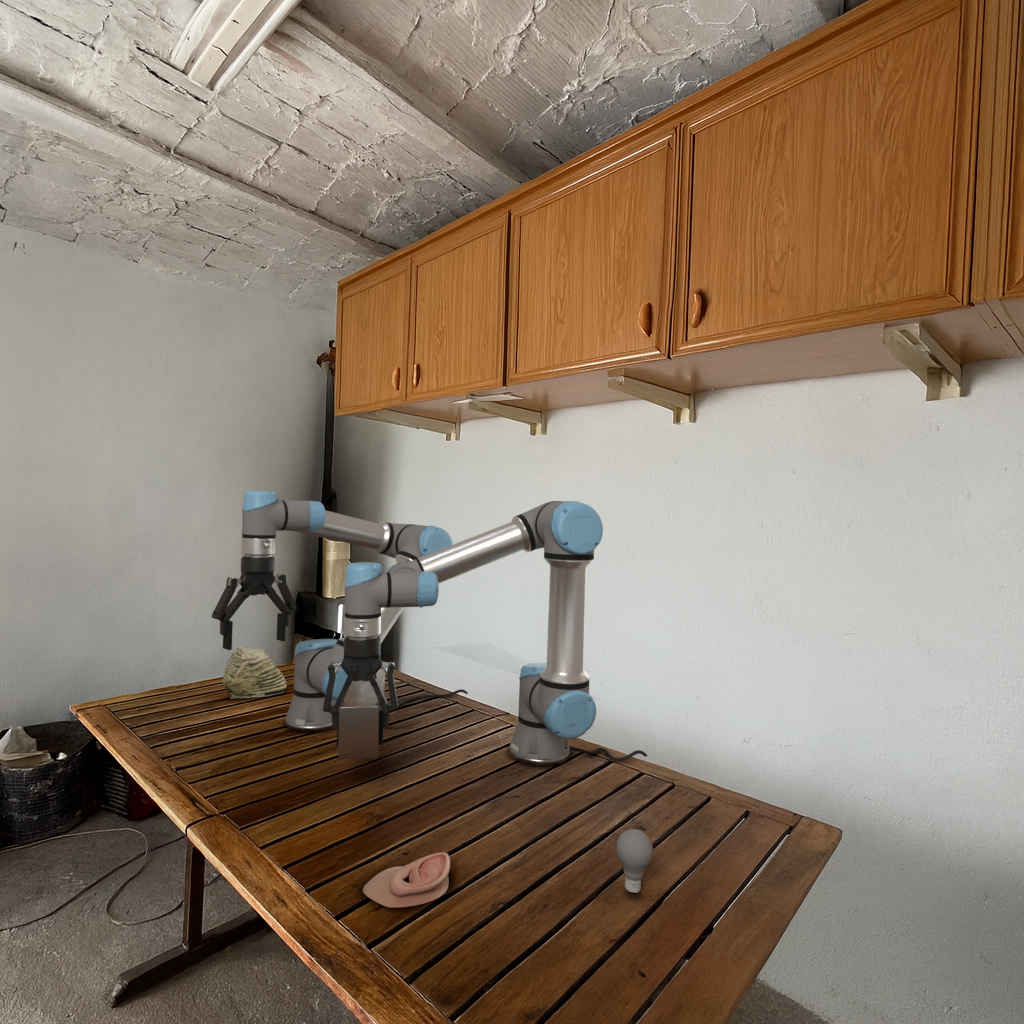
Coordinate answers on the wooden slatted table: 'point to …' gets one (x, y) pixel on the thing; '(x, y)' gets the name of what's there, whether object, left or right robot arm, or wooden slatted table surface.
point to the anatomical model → (411, 882)
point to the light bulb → (634, 857)
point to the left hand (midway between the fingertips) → (254, 644)
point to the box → (360, 720)
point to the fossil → (252, 674)
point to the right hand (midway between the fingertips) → (360, 743)
